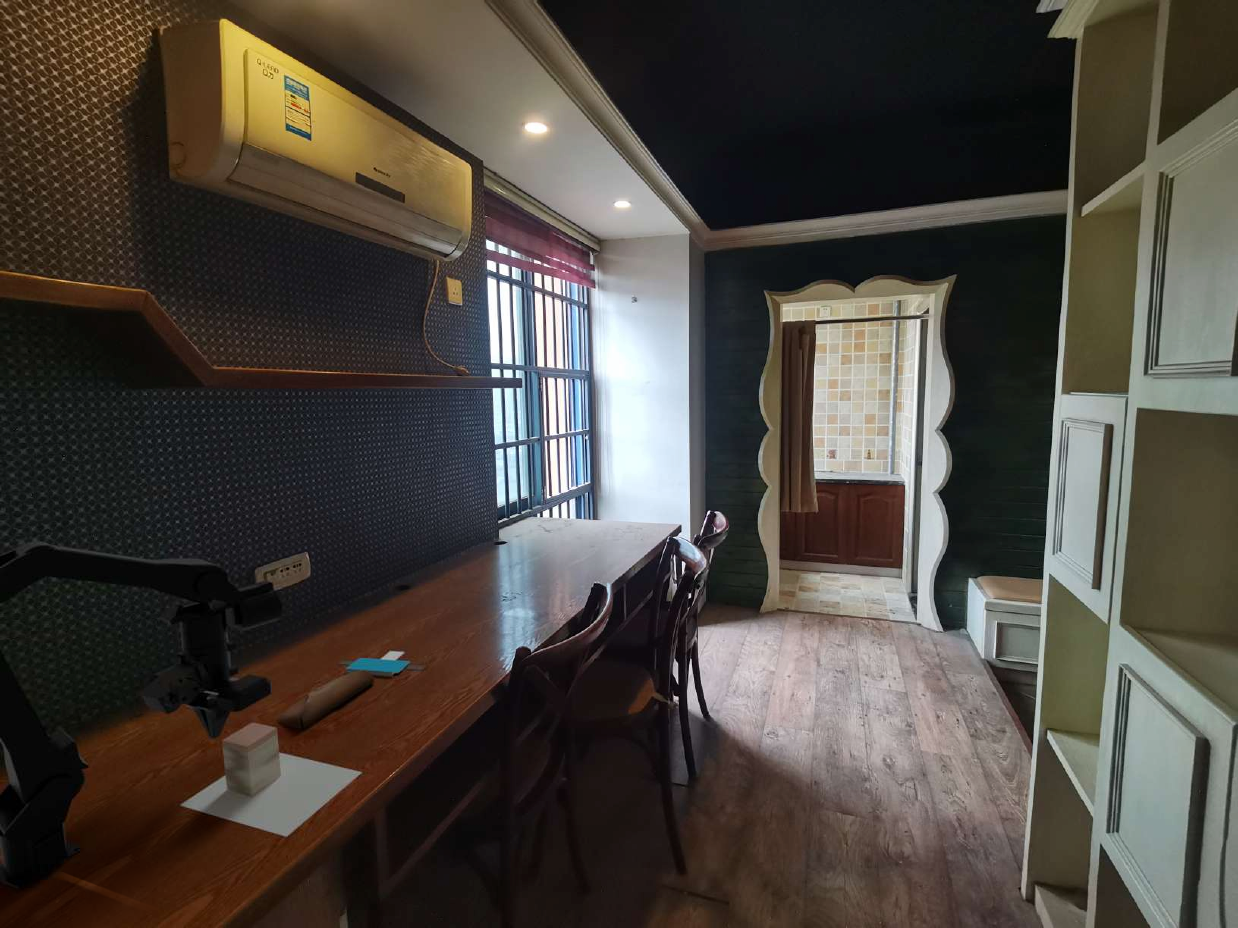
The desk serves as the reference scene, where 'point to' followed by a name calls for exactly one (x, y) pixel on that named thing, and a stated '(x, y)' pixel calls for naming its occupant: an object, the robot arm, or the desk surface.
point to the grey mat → (277, 796)
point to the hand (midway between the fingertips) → (215, 736)
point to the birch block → (251, 759)
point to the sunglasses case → (325, 699)
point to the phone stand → (381, 665)
